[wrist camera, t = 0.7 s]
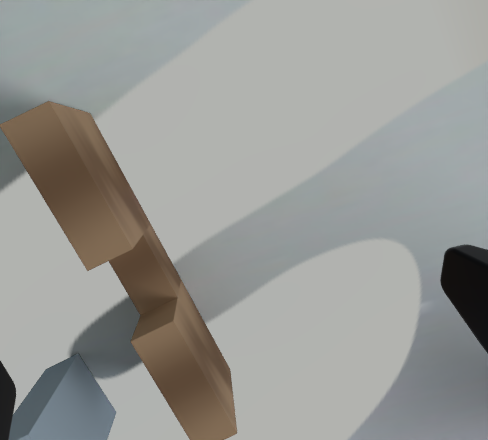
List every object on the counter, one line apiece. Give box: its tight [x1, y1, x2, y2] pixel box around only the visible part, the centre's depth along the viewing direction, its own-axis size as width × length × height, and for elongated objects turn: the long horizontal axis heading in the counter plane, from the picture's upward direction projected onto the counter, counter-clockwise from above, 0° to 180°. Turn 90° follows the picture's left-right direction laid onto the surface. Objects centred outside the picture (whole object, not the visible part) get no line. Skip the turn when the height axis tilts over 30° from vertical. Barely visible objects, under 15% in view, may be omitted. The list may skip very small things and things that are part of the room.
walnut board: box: [0, 101, 237, 440], centre depth 18 cm, size 16×2×5 cm, turn 25°
